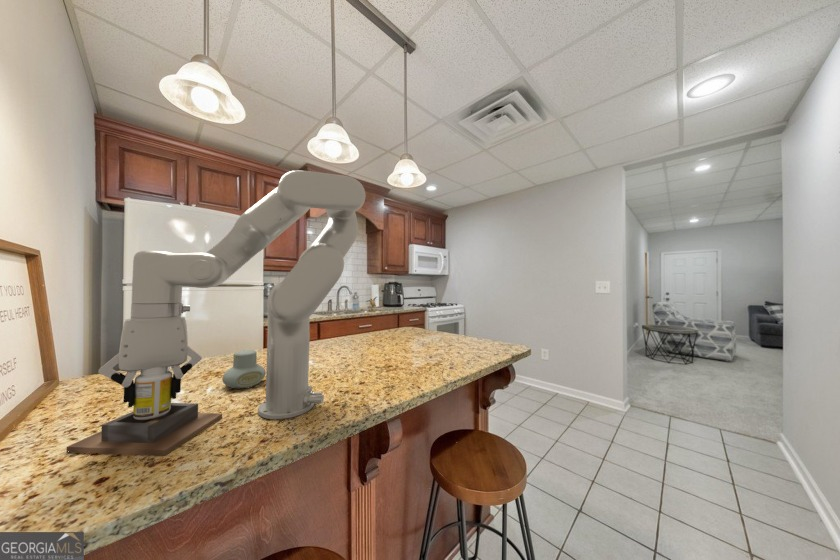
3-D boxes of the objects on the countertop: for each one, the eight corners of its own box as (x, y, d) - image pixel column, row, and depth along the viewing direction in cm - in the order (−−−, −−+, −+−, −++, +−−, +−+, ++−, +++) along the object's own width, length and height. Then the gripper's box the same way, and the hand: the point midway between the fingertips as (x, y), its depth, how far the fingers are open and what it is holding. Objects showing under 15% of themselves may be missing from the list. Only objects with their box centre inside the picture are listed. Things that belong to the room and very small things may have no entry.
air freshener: (258, 377, 91) (259, 346, 91) (269, 384, 86) (270, 351, 86) (218, 387, 82) (219, 352, 83) (227, 394, 77) (228, 358, 77)
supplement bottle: (168, 406, 61) (170, 359, 61) (172, 414, 57) (175, 364, 57) (131, 414, 57) (134, 363, 57) (133, 424, 53) (136, 370, 53)
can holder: (222, 418, 64) (222, 400, 64) (164, 455, 50) (165, 433, 50) (144, 415, 64) (145, 398, 64) (66, 452, 50) (67, 430, 50)
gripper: (206, 308, 66) (203, 386, 66) (96, 312, 54) (91, 406, 54) (211, 311, 61) (208, 395, 60) (89, 315, 49) (84, 420, 48)
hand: (153, 399), depth 57 cm, fingers closed on supplement bottle, 5 cm apart
